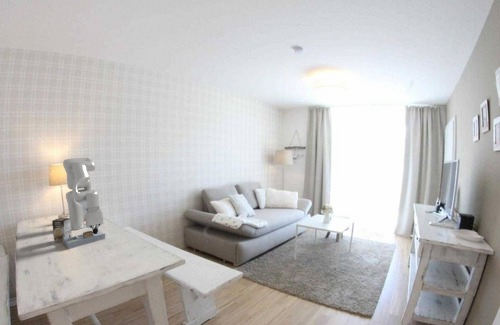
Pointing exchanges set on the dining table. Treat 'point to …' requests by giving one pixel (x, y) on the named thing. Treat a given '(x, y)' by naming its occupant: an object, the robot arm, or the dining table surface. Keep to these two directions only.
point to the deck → (82, 240)
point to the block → (87, 234)
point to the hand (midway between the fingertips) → (95, 233)
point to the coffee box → (61, 229)
